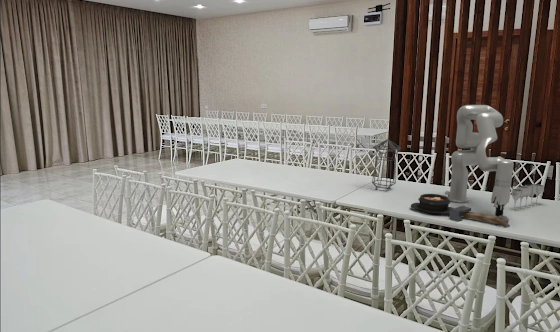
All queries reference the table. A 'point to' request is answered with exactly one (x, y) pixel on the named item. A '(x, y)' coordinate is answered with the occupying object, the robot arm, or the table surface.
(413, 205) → the casserole
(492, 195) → the robot arm
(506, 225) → the pintle plate
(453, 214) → the keeper
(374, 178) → the geometric lantern
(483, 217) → the brown wooden bar
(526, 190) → the goblet set
